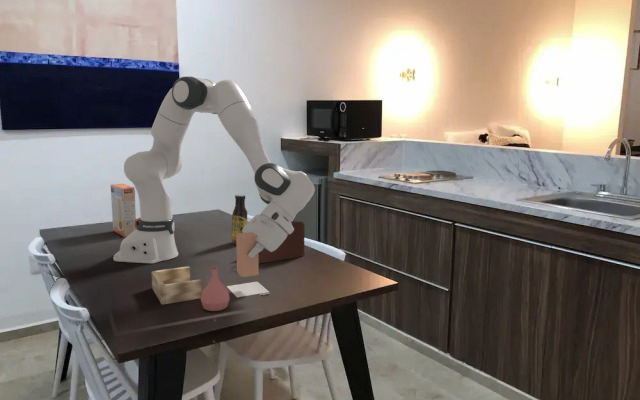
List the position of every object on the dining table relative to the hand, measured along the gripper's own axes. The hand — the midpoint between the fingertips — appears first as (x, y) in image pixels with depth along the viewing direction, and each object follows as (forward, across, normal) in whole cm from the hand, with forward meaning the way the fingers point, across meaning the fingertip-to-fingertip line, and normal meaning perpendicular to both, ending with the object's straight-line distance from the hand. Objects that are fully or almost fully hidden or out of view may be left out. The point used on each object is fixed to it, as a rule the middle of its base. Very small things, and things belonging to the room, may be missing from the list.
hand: (245, 253), depth 151 cm
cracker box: (+24, -89, -8) cm, 93 cm away
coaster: (+8, 0, +9) cm, 12 cm away
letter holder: (-7, -30, +24) cm, 39 cm away
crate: (+22, -6, -5) cm, 23 cm away
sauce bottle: (-3, -53, +20) cm, 57 cm away
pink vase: (+17, +10, 0) cm, 20 cm away
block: (+4, 0, +5) cm, 6 cm away
